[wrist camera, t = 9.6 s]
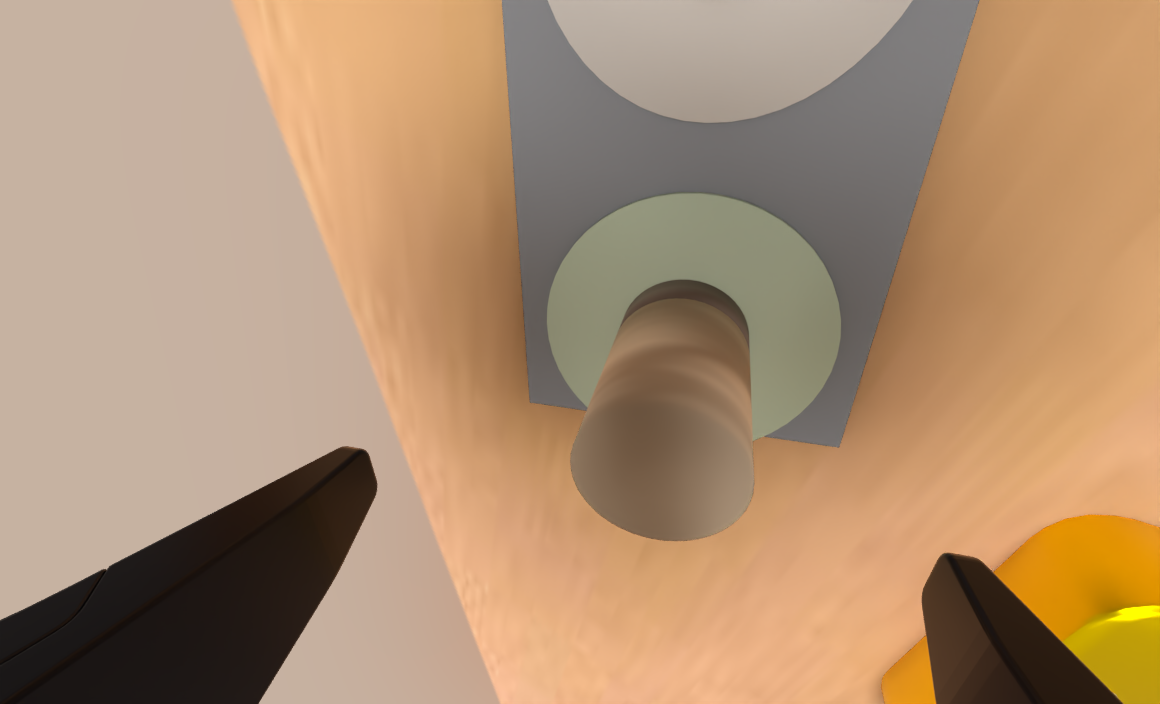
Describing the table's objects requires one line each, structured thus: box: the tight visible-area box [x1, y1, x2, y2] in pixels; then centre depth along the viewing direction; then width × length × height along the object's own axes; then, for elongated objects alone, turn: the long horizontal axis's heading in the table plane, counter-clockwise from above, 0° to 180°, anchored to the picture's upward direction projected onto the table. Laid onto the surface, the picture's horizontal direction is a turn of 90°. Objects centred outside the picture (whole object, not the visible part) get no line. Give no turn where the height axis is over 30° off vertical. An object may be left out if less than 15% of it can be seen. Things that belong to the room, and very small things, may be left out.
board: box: [502, 0, 979, 447], centre depth 14 cm, size 12×22×5 cm, turn 0°
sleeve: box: [570, 279, 754, 541], centre depth 16 cm, size 4×4×7 cm
